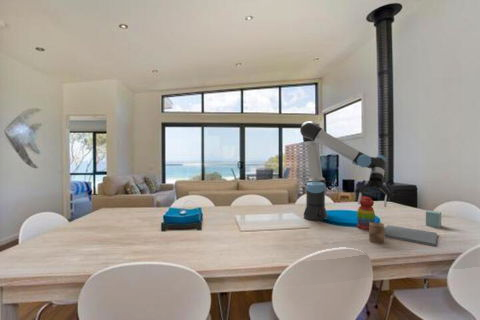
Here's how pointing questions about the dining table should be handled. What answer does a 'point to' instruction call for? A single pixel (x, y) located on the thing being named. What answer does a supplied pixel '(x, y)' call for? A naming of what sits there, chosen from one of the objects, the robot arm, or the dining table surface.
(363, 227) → the stacking bear
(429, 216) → the grey-teal block
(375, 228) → the walnut block
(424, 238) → the slate board
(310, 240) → the dining table surface
